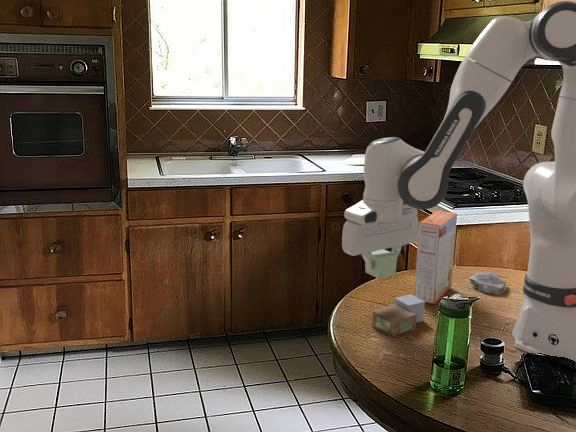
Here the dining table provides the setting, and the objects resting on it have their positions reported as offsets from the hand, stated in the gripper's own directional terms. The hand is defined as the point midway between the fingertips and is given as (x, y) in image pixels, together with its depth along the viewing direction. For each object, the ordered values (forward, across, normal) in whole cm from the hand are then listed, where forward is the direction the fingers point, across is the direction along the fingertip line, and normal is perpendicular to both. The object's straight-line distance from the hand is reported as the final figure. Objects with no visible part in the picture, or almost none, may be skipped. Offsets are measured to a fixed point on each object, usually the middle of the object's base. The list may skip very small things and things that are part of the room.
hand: (381, 266), depth 152 cm
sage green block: (+2, 0, 0) cm, 2 cm away
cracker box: (+14, -21, -5) cm, 25 cm away
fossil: (+14, -38, -2) cm, 41 cm away
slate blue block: (+13, -5, +4) cm, 15 cm away
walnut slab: (+13, +1, +6) cm, 15 cm away
